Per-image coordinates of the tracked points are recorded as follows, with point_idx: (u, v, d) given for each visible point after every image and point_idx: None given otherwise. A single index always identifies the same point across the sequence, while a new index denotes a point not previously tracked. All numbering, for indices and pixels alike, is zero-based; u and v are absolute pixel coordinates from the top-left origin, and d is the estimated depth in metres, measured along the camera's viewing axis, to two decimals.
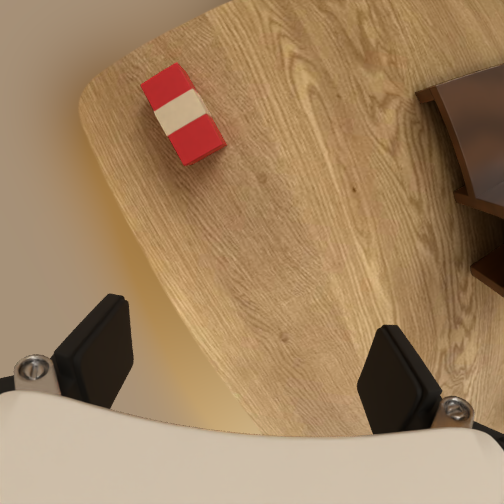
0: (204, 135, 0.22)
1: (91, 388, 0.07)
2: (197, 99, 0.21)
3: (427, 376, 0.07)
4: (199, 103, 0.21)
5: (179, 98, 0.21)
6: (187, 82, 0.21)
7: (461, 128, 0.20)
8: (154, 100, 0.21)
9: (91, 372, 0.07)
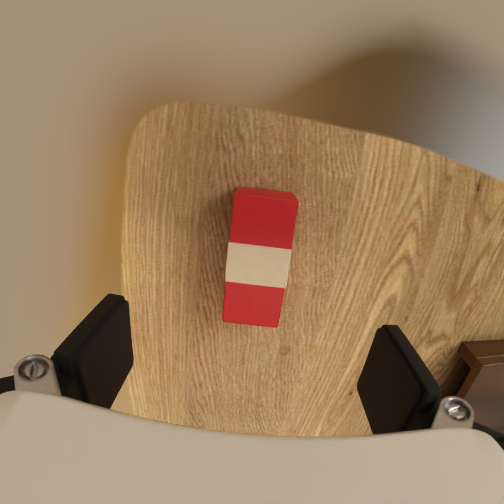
0: (265, 308, 0.19)
1: (91, 388, 0.07)
2: (287, 267, 0.18)
3: (427, 376, 0.07)
4: (286, 273, 0.18)
5: (269, 250, 0.17)
6: (291, 237, 0.17)
7: (468, 400, 0.20)
8: (238, 228, 0.17)
9: (91, 372, 0.07)
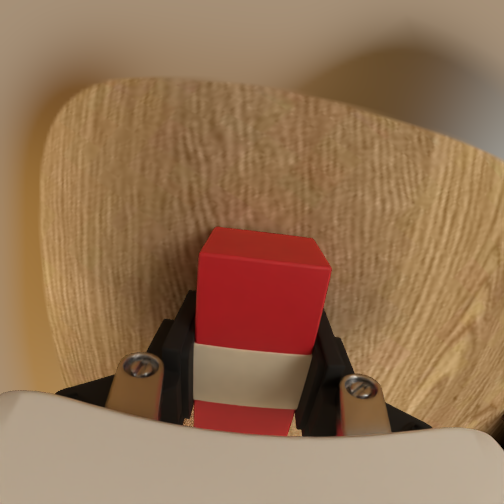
0: (262, 433, 0.10)
1: (189, 381, 0.08)
2: (303, 381, 0.09)
3: (333, 351, 0.08)
4: (300, 390, 0.09)
5: (270, 358, 0.09)
6: (313, 335, 0.09)
7: None
8: (210, 321, 0.08)
9: (191, 365, 0.08)
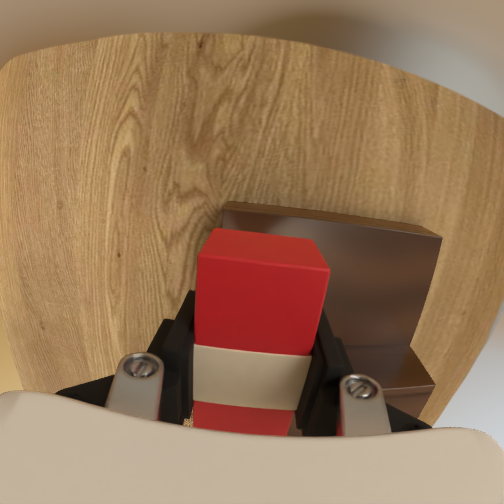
0: (262, 433, 0.10)
1: (189, 381, 0.08)
2: (302, 382, 0.09)
3: (333, 351, 0.08)
4: (299, 391, 0.09)
5: (269, 359, 0.09)
6: (312, 336, 0.09)
7: None
8: (209, 322, 0.08)
9: (191, 365, 0.09)
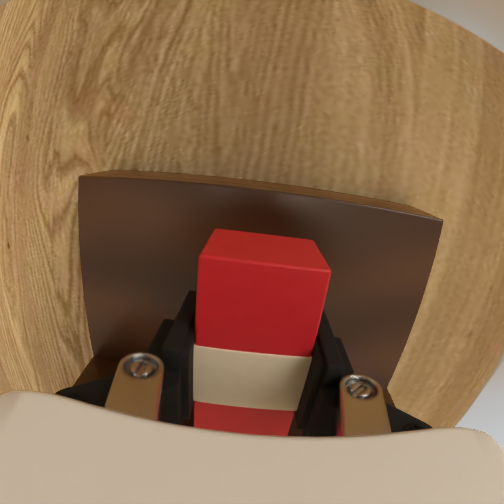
0: (262, 433, 0.10)
1: (189, 381, 0.08)
2: (303, 383, 0.09)
3: (333, 351, 0.08)
4: (300, 392, 0.09)
5: (270, 359, 0.09)
6: (313, 337, 0.09)
7: (93, 260, 0.14)
8: (210, 323, 0.08)
9: (191, 365, 0.08)
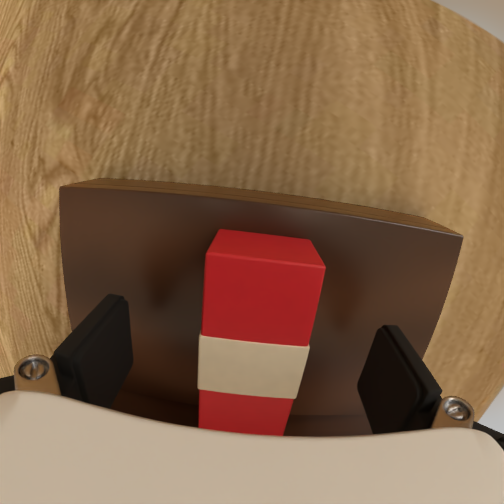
0: (263, 421, 0.11)
1: (91, 388, 0.07)
2: (300, 371, 0.10)
3: (427, 376, 0.07)
4: (298, 380, 0.10)
5: (270, 349, 0.10)
6: (310, 328, 0.09)
7: (77, 279, 0.12)
8: (216, 315, 0.09)
9: (91, 372, 0.07)
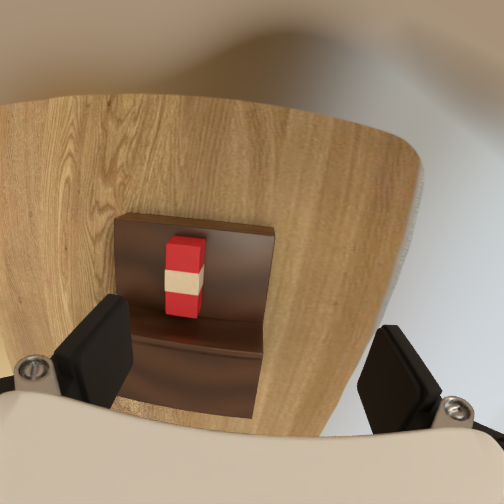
0: (188, 306, 0.32)
1: (91, 388, 0.07)
2: (197, 283, 0.31)
3: (427, 376, 0.07)
4: (197, 287, 0.31)
5: (186, 274, 0.31)
6: (198, 267, 0.30)
7: (120, 255, 0.33)
8: (169, 262, 0.30)
9: (91, 372, 0.07)
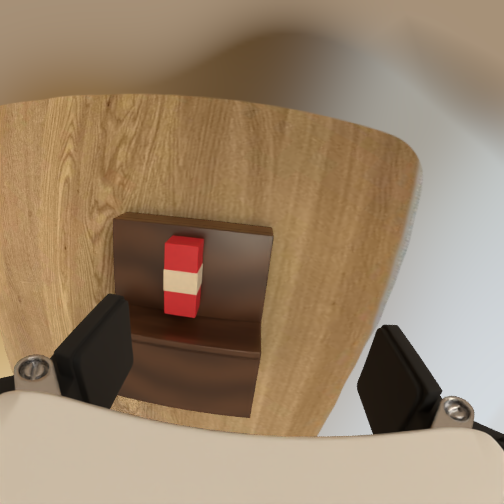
0: (186, 306, 0.32)
1: (91, 388, 0.07)
2: (196, 283, 0.31)
3: (427, 376, 0.07)
4: (195, 286, 0.31)
5: (185, 273, 0.31)
6: (196, 266, 0.30)
7: (119, 254, 0.33)
8: (168, 262, 0.30)
9: (91, 372, 0.07)
